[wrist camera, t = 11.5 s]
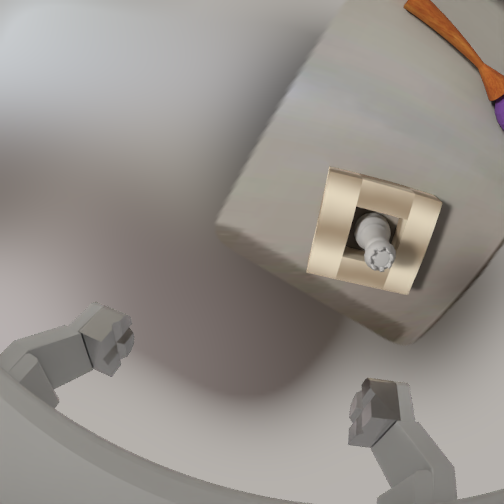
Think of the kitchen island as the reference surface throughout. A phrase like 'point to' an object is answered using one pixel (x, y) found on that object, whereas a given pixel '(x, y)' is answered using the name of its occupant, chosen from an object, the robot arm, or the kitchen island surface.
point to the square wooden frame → (380, 200)
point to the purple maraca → (461, 50)
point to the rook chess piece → (375, 241)
